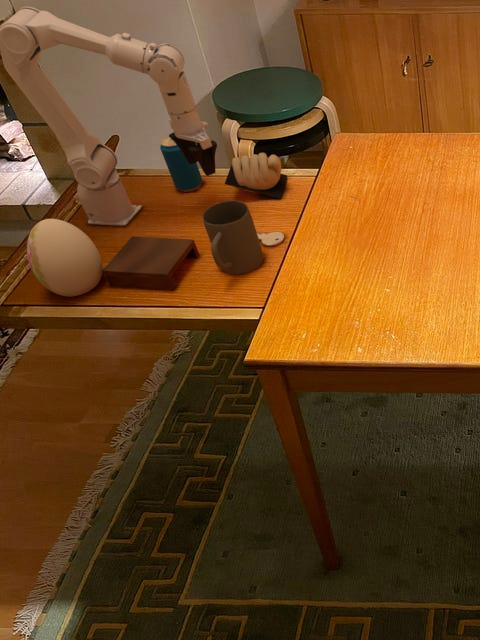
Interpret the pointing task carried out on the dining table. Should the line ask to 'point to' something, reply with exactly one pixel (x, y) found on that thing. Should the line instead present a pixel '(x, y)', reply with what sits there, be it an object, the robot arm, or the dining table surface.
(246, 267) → the mug
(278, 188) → the decorative object
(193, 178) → the beverage can
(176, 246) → the shelf
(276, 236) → the key
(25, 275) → the dining table surface
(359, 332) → the dining table surface
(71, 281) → the decorative egg
